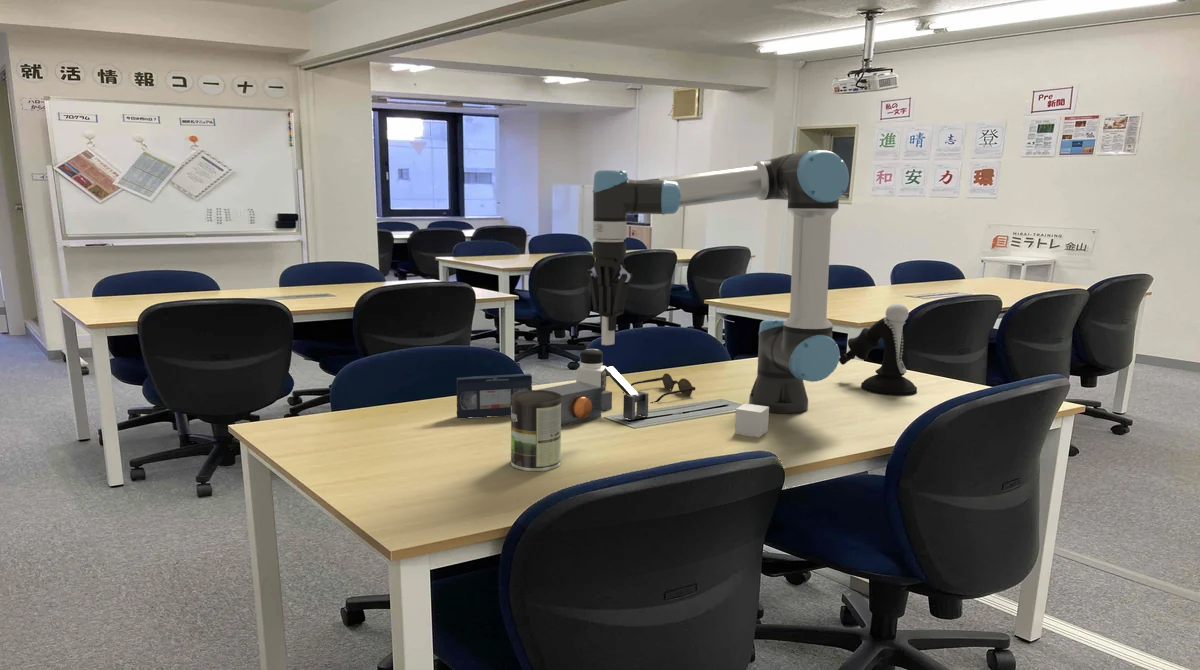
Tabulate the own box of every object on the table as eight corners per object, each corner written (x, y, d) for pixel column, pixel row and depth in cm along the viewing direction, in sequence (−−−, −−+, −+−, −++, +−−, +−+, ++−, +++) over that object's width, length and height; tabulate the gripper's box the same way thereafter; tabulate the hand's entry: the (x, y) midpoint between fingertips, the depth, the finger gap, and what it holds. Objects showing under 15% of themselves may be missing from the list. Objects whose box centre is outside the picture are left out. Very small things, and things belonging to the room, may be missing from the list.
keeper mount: (647, 417, 202) (648, 393, 200) (631, 421, 198) (632, 397, 197) (610, 406, 211) (610, 383, 210) (594, 410, 207) (594, 386, 206)
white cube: (759, 438, 186) (761, 412, 185) (734, 434, 189) (735, 408, 188) (767, 431, 191) (769, 406, 190) (743, 427, 194) (744, 403, 193)
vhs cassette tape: (457, 419, 197) (457, 379, 196) (456, 416, 200) (455, 376, 198) (532, 415, 202) (532, 375, 200) (530, 412, 205) (530, 373, 203)
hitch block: (601, 417, 201) (601, 387, 200) (557, 427, 192) (557, 396, 190) (579, 410, 207) (579, 381, 205) (536, 420, 197) (536, 389, 196)
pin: (591, 416, 197) (592, 395, 196) (575, 420, 193) (575, 399, 192) (555, 406, 206) (556, 385, 206) (539, 409, 203) (539, 389, 202)
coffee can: (509, 472, 160) (509, 402, 158) (511, 455, 170) (510, 389, 168) (562, 471, 161) (563, 402, 159) (560, 455, 171) (561, 389, 169)
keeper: (641, 402, 201) (644, 396, 200) (632, 404, 199) (635, 398, 198) (611, 370, 208) (614, 364, 207) (602, 372, 205) (605, 366, 204)
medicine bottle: (601, 396, 221) (602, 353, 219) (575, 395, 223) (576, 351, 221) (606, 390, 228) (607, 348, 226) (581, 389, 230) (581, 347, 228)
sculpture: (901, 398, 225) (909, 308, 220) (824, 383, 241) (830, 299, 237) (925, 389, 235) (933, 303, 231) (850, 376, 252) (855, 295, 248)
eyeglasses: (695, 398, 223) (695, 380, 222) (652, 405, 215) (652, 387, 214) (661, 387, 235) (662, 370, 234) (619, 394, 226) (620, 376, 226)
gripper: (577, 239, 185) (576, 342, 189) (618, 242, 176) (616, 350, 180) (601, 238, 190) (600, 338, 194) (642, 241, 181) (639, 346, 185)
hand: (607, 344), depth 187 cm, fingers closed
